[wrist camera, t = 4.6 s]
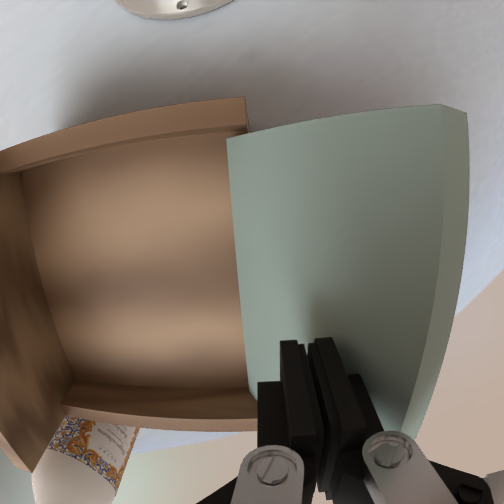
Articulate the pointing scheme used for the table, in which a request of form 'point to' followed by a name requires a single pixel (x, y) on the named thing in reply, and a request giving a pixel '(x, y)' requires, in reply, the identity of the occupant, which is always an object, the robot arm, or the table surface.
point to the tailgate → (354, 246)
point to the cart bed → (122, 278)
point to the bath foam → (83, 463)
